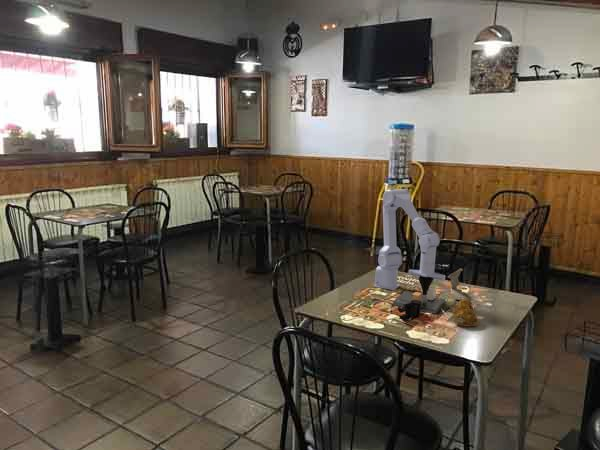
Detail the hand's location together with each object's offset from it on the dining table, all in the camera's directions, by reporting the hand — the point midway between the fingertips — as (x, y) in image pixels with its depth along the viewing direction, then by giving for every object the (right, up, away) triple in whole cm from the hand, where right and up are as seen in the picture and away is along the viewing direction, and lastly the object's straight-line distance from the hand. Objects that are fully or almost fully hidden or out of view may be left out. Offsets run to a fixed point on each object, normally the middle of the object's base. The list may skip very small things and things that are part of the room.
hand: (425, 294), depth 195 cm
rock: (+9, -8, -20) cm, 23 cm away
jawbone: (+16, -2, +9) cm, 18 cm away
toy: (-10, -6, -16) cm, 20 cm away
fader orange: (-5, -2, -6) cm, 8 cm away
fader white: (+2, -1, -1) cm, 3 cm away
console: (-3, -3, -2) cm, 5 cm away
